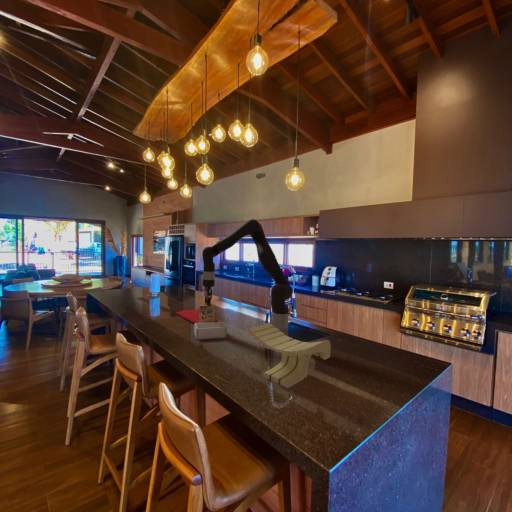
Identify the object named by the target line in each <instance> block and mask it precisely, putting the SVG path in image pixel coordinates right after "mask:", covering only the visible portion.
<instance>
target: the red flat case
mask: <svg viewBox="0 0 512 512" xmlns="http://www.w3.org/2000/svg"><path fill="white" fill-rule="evenodd" d="M175 314H176V315H177V316H178V317H180V316H181V318H182V319H183V320H187V321H189V322H190V323H193V324H194V323H199V317H200V310H199V311H198V310H196V309H184V310H179V311H176V313H175ZM214 322H220V320H218V319H216V318H215V317H214Z"/></svg>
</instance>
